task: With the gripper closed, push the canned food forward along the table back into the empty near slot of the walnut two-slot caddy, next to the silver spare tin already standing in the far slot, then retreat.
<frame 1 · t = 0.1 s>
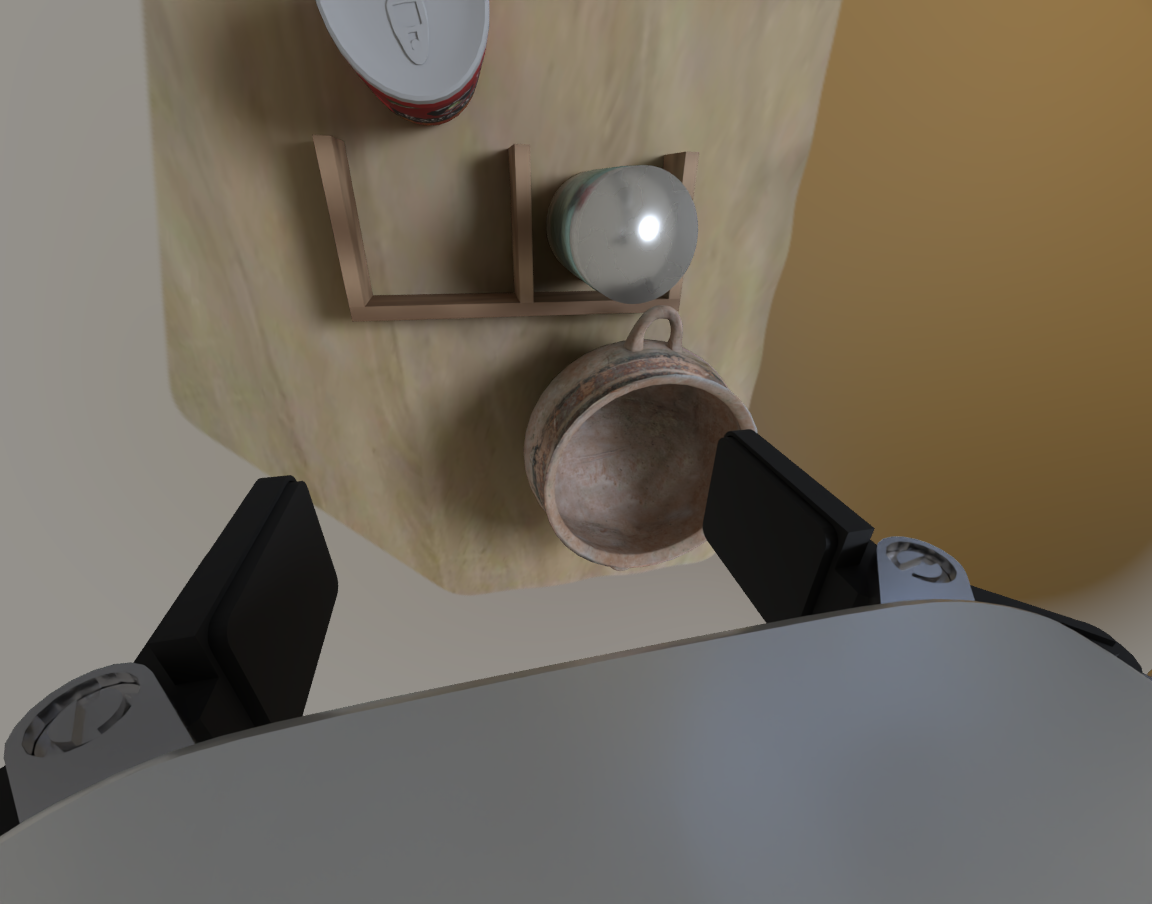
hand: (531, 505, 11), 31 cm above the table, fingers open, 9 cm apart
canned food: (418, 52, 30), on the table
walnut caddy: (518, 232, 36), on the table
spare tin: (592, 226, 37), on the table
cooking pot: (609, 415, 46), on the table
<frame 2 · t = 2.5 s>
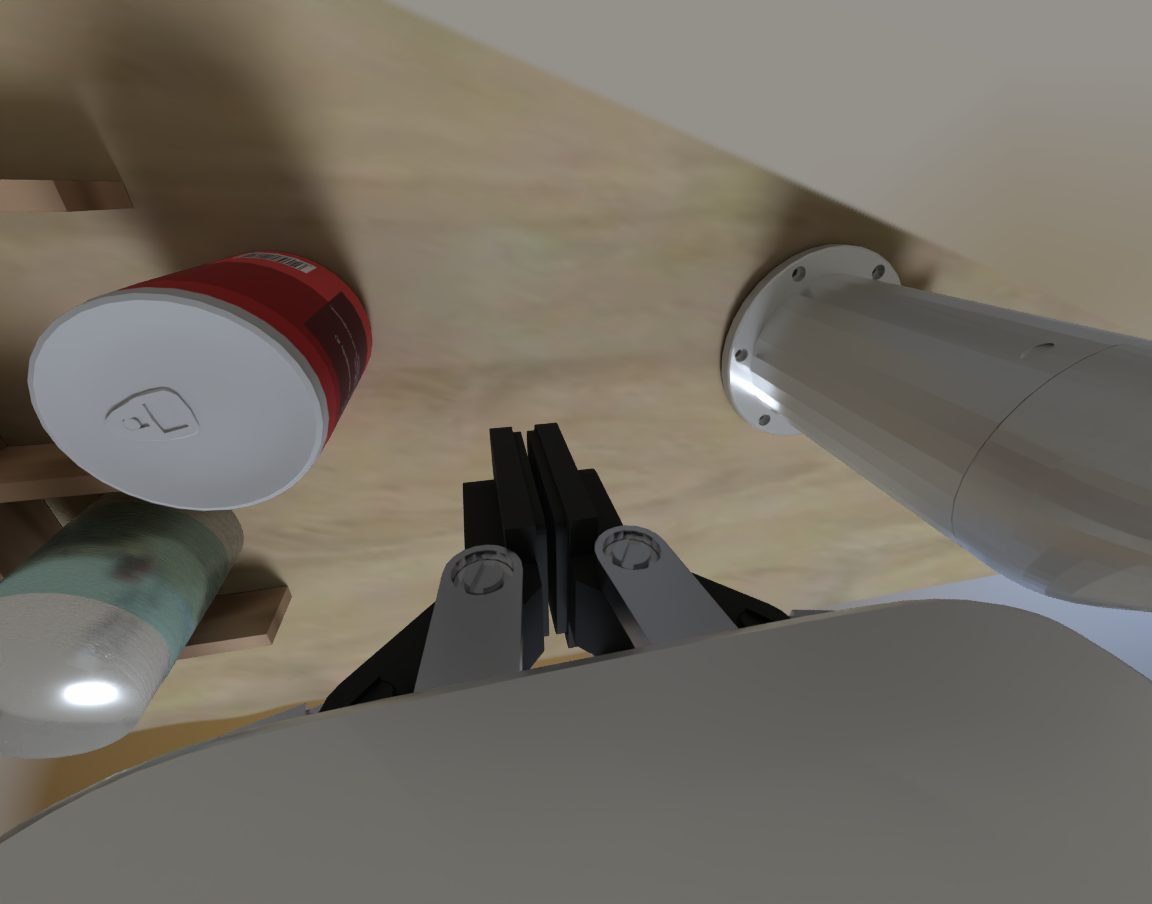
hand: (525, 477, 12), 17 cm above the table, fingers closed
canned food: (294, 326, 24), on the table
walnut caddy: (113, 447, 25), on the table
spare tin: (170, 532, 28), on the table
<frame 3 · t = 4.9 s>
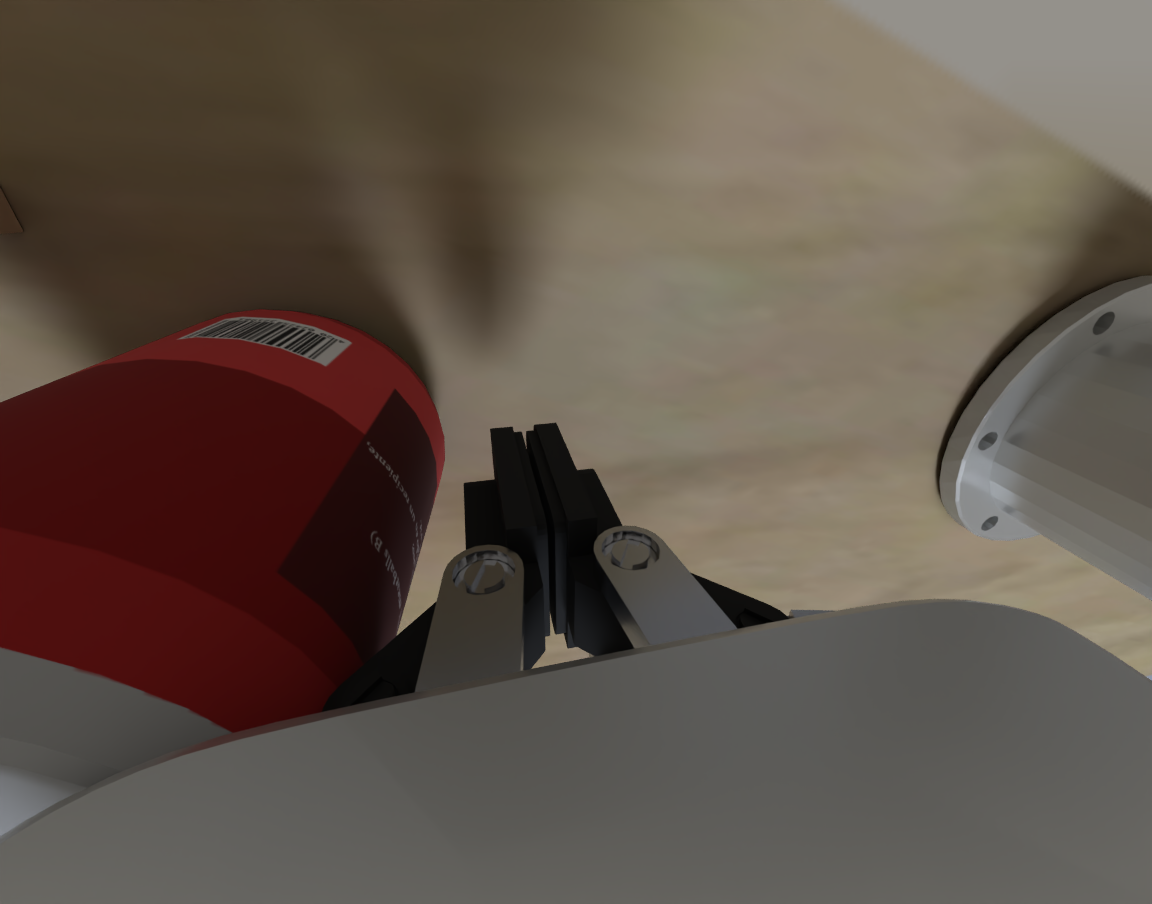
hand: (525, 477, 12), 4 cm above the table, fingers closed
canned food: (318, 427, 14), on the table, touching gripper
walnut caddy: (26, 614, 15), on the table
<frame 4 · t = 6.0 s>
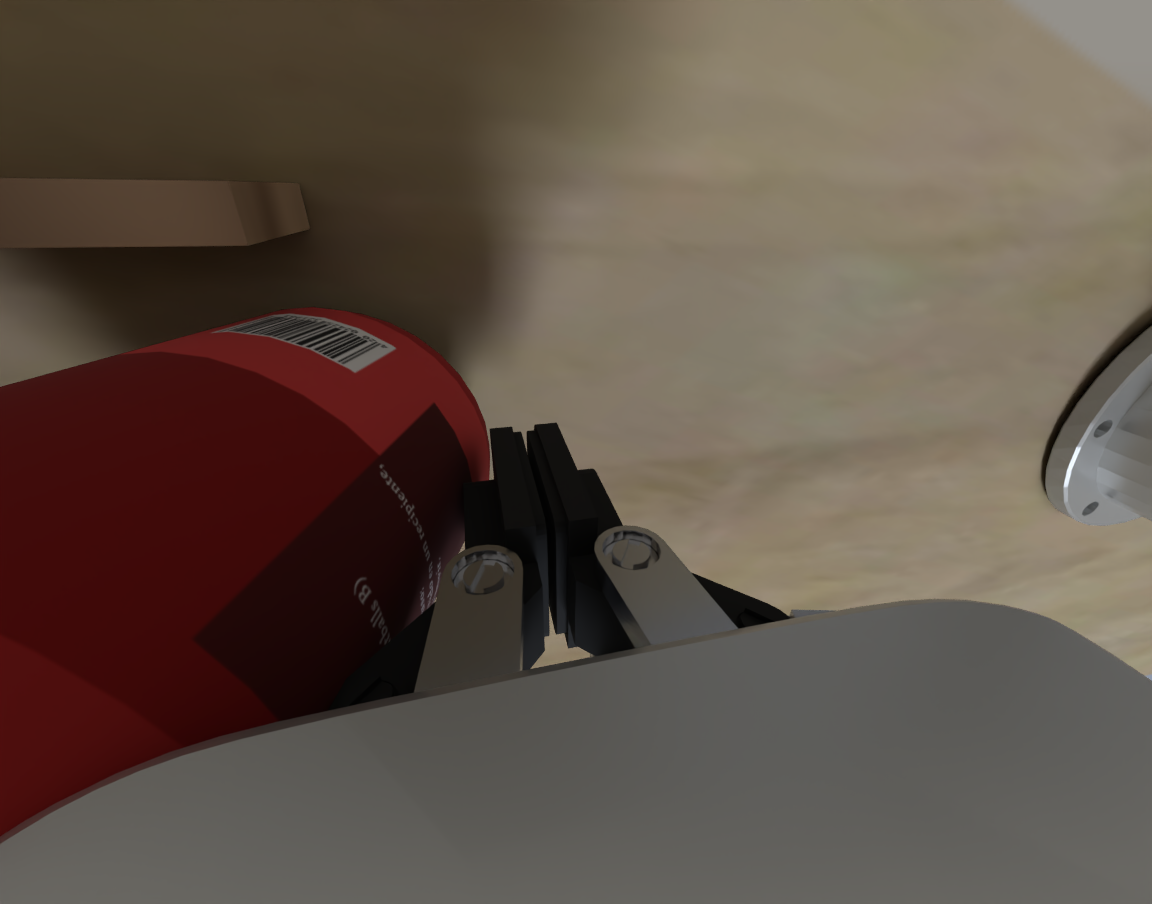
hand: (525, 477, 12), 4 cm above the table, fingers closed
canned food: (367, 434, 14), point 1 cm above the table, touching gripper
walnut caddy: (230, 590, 16), on the table
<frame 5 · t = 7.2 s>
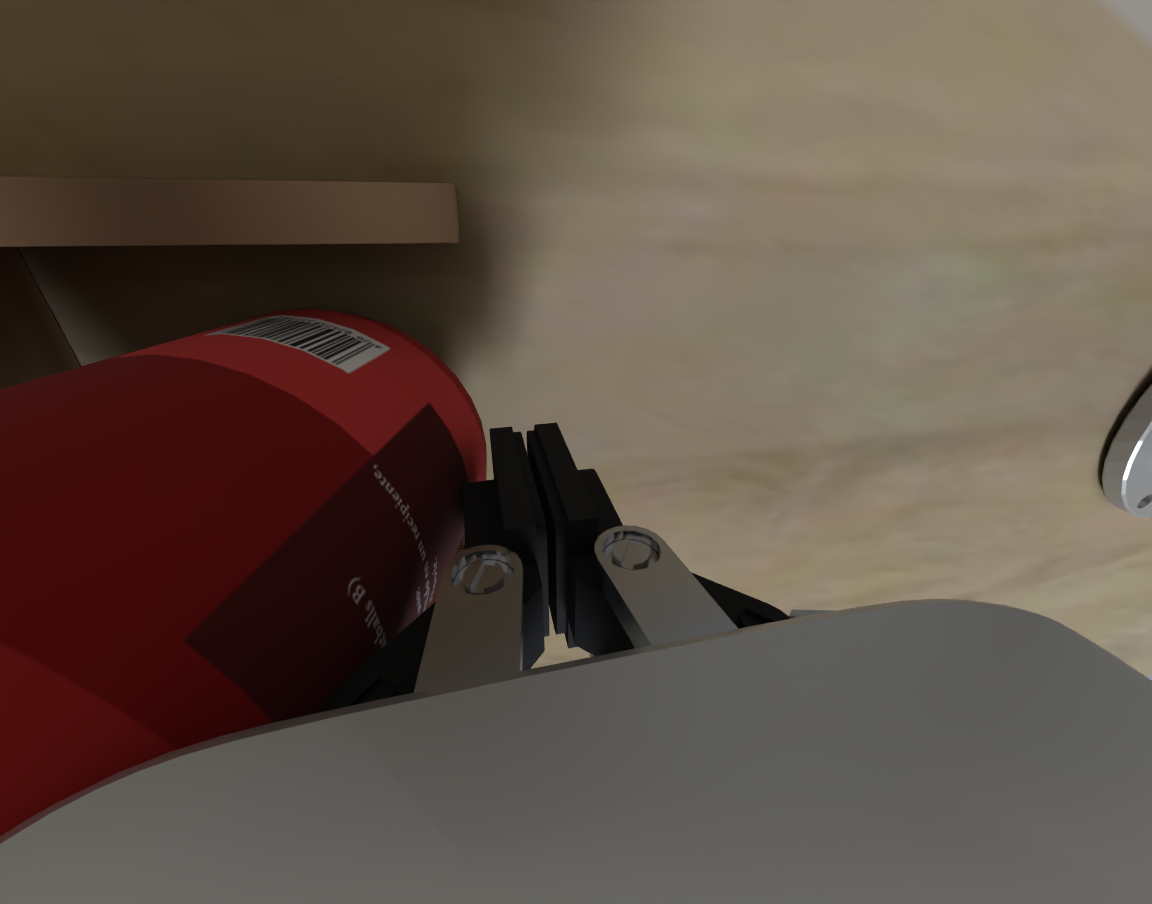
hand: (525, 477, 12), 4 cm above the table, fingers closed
canned food: (364, 434, 14), point 1 cm above the table, touching gripper
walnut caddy: (341, 575, 17), on the table
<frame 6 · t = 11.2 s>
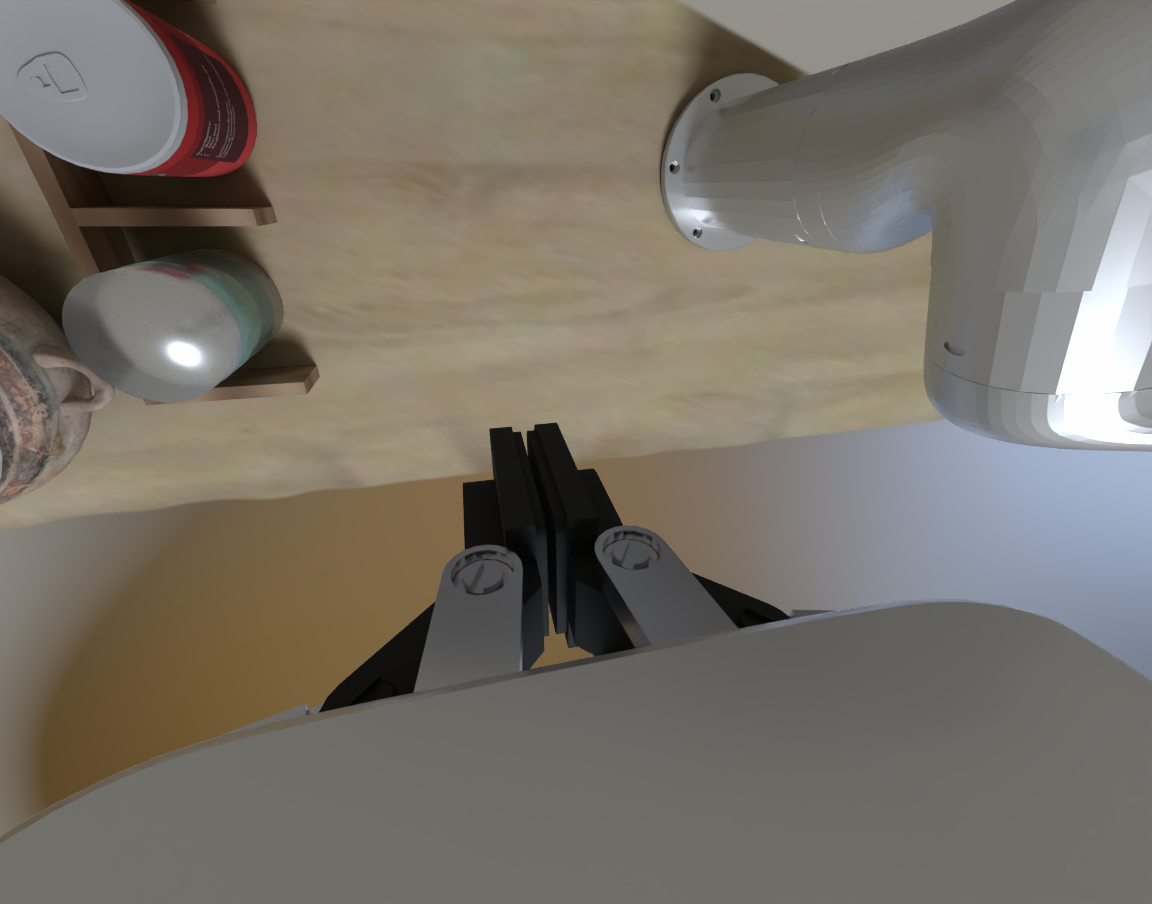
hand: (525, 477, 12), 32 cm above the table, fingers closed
canned food: (193, 110, 30), on the table
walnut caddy: (189, 214, 33), on the table
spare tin: (227, 301, 36), on the table
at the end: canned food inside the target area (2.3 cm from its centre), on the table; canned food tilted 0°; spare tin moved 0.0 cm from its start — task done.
